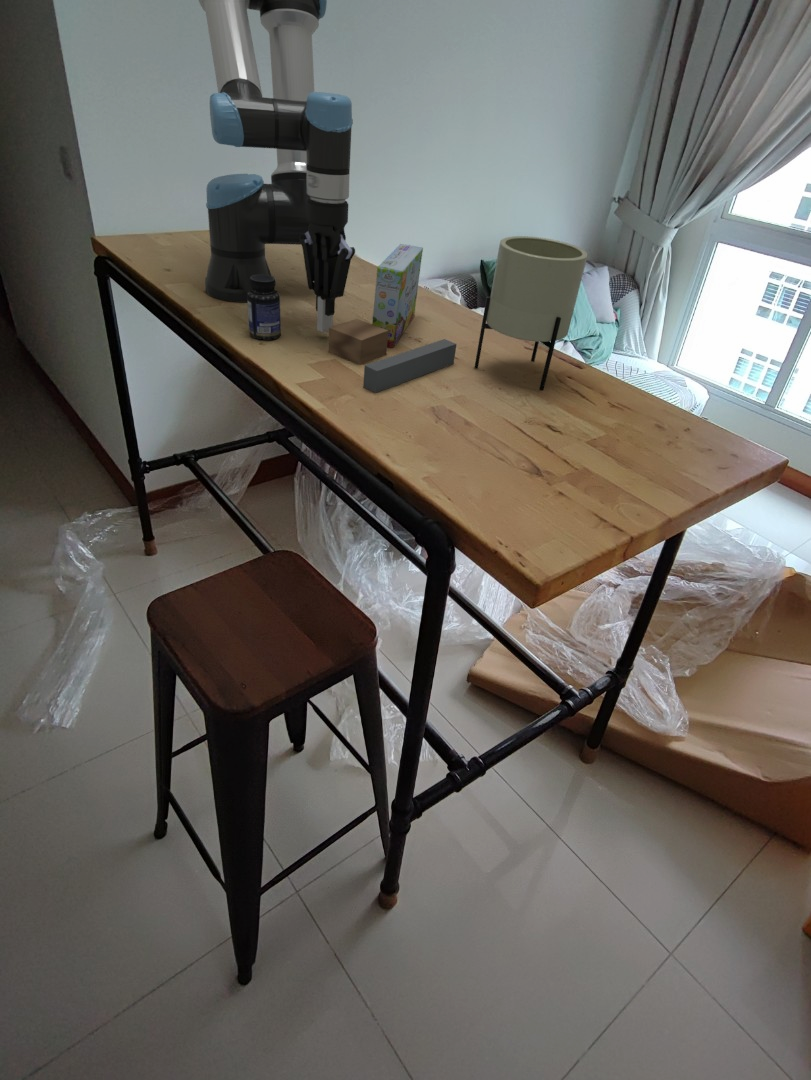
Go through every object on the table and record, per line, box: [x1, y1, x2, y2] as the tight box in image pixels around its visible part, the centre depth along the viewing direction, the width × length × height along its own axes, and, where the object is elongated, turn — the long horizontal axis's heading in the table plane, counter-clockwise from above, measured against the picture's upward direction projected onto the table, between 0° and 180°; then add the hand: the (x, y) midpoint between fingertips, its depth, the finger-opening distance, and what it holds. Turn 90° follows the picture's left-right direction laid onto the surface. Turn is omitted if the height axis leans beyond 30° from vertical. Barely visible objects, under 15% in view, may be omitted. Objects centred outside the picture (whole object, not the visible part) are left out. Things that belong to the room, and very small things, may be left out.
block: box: [327, 318, 388, 366], centre depth 124 cm, size 8×8×5 cm
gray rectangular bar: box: [362, 338, 457, 393], centre depth 118 cm, size 3×22×4 cm, turn 138°
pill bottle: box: [247, 275, 282, 341], centre depth 124 cm, size 6×6×11 cm
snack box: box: [371, 243, 424, 348], centre depth 133 cm, size 21×6×15 cm, turn 168°
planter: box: [474, 235, 588, 392], centre depth 118 cm, size 15×16×23 cm
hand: (324, 329), depth 129 cm, fingers closed
